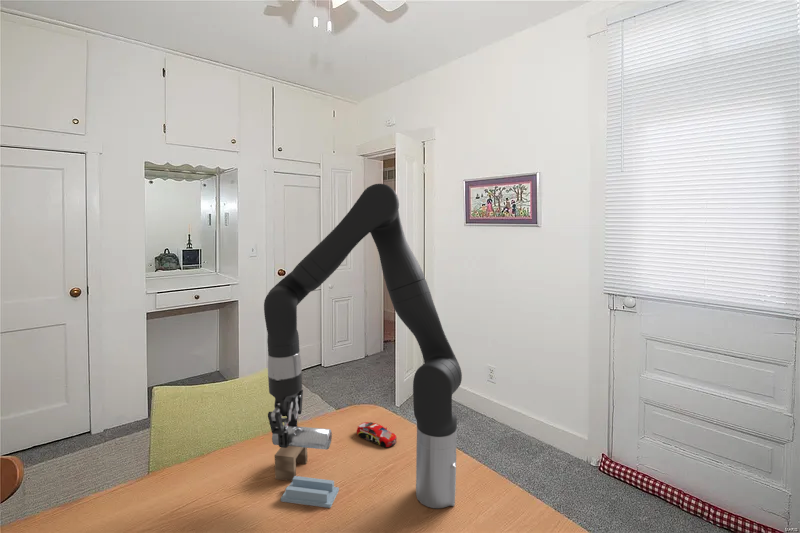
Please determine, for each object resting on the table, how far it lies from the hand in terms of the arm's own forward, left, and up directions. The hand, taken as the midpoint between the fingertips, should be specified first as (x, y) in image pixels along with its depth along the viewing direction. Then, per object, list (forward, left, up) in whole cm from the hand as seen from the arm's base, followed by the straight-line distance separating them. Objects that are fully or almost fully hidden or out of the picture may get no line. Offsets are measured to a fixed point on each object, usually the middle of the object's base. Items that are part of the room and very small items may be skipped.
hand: (288, 440), depth 97 cm
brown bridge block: (+3, -7, -12) cm, 15 cm away
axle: (-4, 0, -1) cm, 4 cm away
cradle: (-6, +1, -12) cm, 14 cm away
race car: (-15, -26, -13) cm, 33 cm away
